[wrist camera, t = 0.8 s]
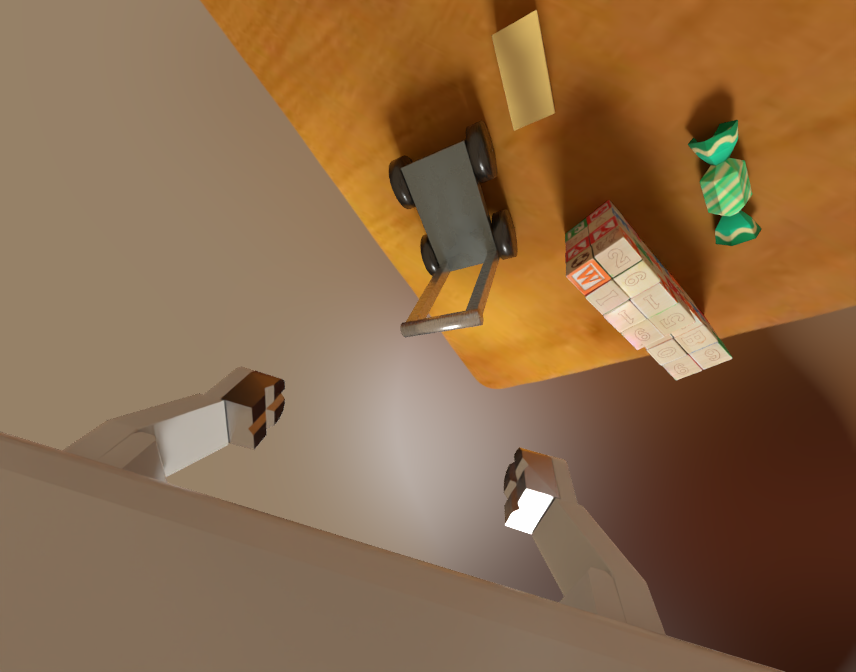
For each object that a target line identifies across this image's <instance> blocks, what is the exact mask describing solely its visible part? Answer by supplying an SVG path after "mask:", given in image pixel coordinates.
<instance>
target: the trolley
mask: <svg viewBox="0 0 856 672" xmlns="http://www.w3.org/2000/svg"><path fill="white" fill-rule="evenodd" d="M496 177H497V164H496V158H495V153H494V148H493V144H492V141H491V138H490V135H489V132H488V129H487V127H486V125H485V123H484V122H483V121H479V122H477V123H475V124H473V125H470V126H468V127H467V128H466V139H465V140H463V141H460V142H458V143H456V144H453V145H451V146H449V147H447V148H444V149H442V150H440V151H437V152H435V153H433V154H431V155H428V156H426V157H424V158H421V159H419V160H417V161H414V162H413V161H412V160H411V159H410V158H409V157H408V156H402V157H400V158H397V159H395V160H393V161H391V163H390V165H389V178H390V183H391V186H392V189H393V191H394V194H395V196H396V198H397V199H398V201H399V202H400V204H401V205H402V206H403V207H404V208H406V209H411V208H414V207H416V208H417V210H418V213H419V215H420V218H421V220H422V223H423V225H424V228H425V230H426V233H427V234H426V235H424V236H423V237H422V239H421V255H422V259H423V262H424V265H425V267H426V269H427V271H428V272H429V273H430V274H431V275H432V276H433V277H432V279H431V281H430V282H429V284H428V286H427V287H426V289H425V291H424V292H423V294H422V296H421V297H420V299H419V301H418V302H417V304H416V306H415V307H414V309H413V311H412V312H411V314H410V316H409V317H408V319H407V321H406V322H404V323H402V324H401V333H402V335H403V336H404V337H411V336H417V335H423V334H430V333H436V332H442V331H448V330H454V329H461V328H467V327H473V326H479V325H483V312H484V308H485V305H486V302H487V298H488V295H489V292H490V288H491V285H492V282H493V278H494V275H495V272H496V268H497V265H498V262H499V258H500V257H501V258H502V259H503V260H504V259H508V258H512V257H516V256H517V240H516V234H515V229H514V225H513V221H512V218H511V215H510V213H509V211H508V210H507V209H505V210H502V211H499V212H496V213H493V215H492V223H491V219H490V216H489V213H488V209H487V206H486V202H485V199H484V196H483V192H482V189H481V185H480V182H482V183H483V182H485V181H488V180H491V179H494V178H496ZM479 181H480V182H479ZM482 263H483V266H482V269H481V271H480V274H479V277H478V279H477V282H476V285H475V287H474V290H473V293H472V295H471V298H470V301H469V303H468V306H467V309H466V311H462V312H457V313H451V314H446V315H440V316H435V317H430V318H426V317H427V315H428V313H429V311H430V309H431V307H432V306H433V304H434V302H435V300H436V298H437V296H438V294H439V292H440V290H441V288H442V287H443V285H444V283H445V281H446V279H447V277H448V275H449V273H450V271H454V270H458V269H462V268H466V267H470V266H474V265H478V264H482Z"/></svg>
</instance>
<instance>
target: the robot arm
mask: <svg viewBox="0 0 856 672" xmlns="http://www.w3.org/2000/svg"><path fill="white" fill-rule="evenodd" d="M284 389H285V381H284V380H283V379H280V378H277V377H274V376H271V375H268V374H264V373H261V372H258V371H254V370H251V369H247V368H245V367H238V368H236V369H235V370H233V371H232V372H231V373H230V374H228V376H226V377H225V378H223V379H222V380H221V381H220V382H219V383H217V384H216V385H215V386H214V387H212V388H211V389H210V390H209V391H207V392H206V393H205V394H204V395H203V394H200V393H199V394H195V395H192V396H188V397H185V398H182V399H178V400H175V401H171V402H168V403H164V404H161V405H158V406H154V407H150V408H147V409H144V410H140V411H137V412H133V413H130V414H126V415H123V416H120V417H116V418H113V419H110V420H107V421H105V422H104V423H102V424H101V425H99V426H98V427H96V428H95V429H94V430H92V431H91V432H89V433H88V434H86V435H85V436H83V437H82V438H80V439H79V440H77V441H76V442H74V443H73V444H71V445H70V446H68V447H67V448H65V449H64V450H59V449H56V448H52V447H49V446H46V445H42V444H39V443H36V442H33V441H30V440H26V439H23V438H19V437H16V436H13V435H10V434H7V433H3V432H0V672H784V671H781V670H777V669H774V668H770V667H767V666H764V665H761V664H757V663H754V662H751V661H748V660H744V659H741V658H738V657H735V656H731V655H728V654H725V653H721V652H718V651H715V650H712V649H708V648H705V647H702V646H699V645H695V644H692V643H688V642H685V641H682V640H679V639H676V638H672V637H669V636H666V635H665V632H664V630H663V627H662V624H661V621H660V619H659V616H658V613H657V611H656V608H655V605H654V603H653V600H652V597H651V594H650V592H649V589H648V586H647V583H646V582H645V580H644V579H643V578H642V577H641V576H640V574H639V573H638V572H637V571H636V570H635V568H634V567H633V566H632V565H631V564H630V562H629V561H628V560H627V559H626V558H625V556H624V555H623V554H622V553H621V552H620V550H619V549H618V548H617V547H616V546H615V544H614V543H613V542H612V541H611V540H610V538H609V537H608V536H607V535H606V534H605V532H604V531H603V530H602V529H601V528H600V527H599V525H598V524H597V523H596V522H595V521H594V519H593V518H592V517H591V515H590V514H589V513H588V512H587V511H586V509H585V508H584V507H583V506H581V505H578V503H577V499H576V495H575V491H574V488H573V484H572V480H571V476H570V473H569V469H568V465H567V462H566V461H565V460H563V459H560V458H556V457H552V456H548V455H544V454H541V453H537V452H534V451H530V450H527V449H523V448H518V449H517V451H516V453H515V454H514V461H515V462H513V463H512V464H509V466H508V469H507V471H506V475H505V478H504V494H505V495H506V497H507V499H508V500H507V501H506V503H505V505H504V507H505V525H507V526H510V527H513V528H516V529H519V530H522V531H525V532H528V533H531V534H532V537H533V539H534V541H535V543H536V545H537V546H538V548H539V550H540V552H541V554H542V556H543V558H544V560H545V562H546V563H547V565H548V567H549V569H550V571H551V573H552V575H553V576H554V578H555V580H556V581H557V584H558V586H559V588H560V590H561V591H562V593H563V595H564V598H563V599H562V600H561V601H560V602H559V603H558V602H555V601H551V600H548V599H545V598H542V597H538V596H535V595H532V594H529V593H525V592H522V591H519V590H516V589H512V588H509V587H506V586H503V585H500V584H496V583H493V582H490V581H486V580H483V579H480V578H477V577H473V576H470V575H467V574H464V573H460V572H457V571H453V570H451V569H447V568H443V567H440V566H437V565H434V564H431V563H428V562H424V561H421V560H418V559H414V558H411V557H408V556H404V555H401V554H398V553H395V552H391V551H388V550H385V549H381V548H378V547H375V546H372V545H368V544H365V543H362V542H359V541H356V540H352V539H349V538H346V537H343V536H339V535H336V534H333V533H330V532H326V531H323V530H319V529H316V528H313V527H310V526H307V525H303V524H300V523H297V522H294V521H291V520H287V519H284V518H280V517H277V516H274V515H271V514H268V513H264V512H261V511H258V510H254V509H251V508H248V507H245V506H242V505H238V504H235V503H231V502H228V501H225V500H221V499H219V498H215V497H212V496H209V495H206V494H202V493H199V492H196V491H192V490H189V489H186V488H183V487H179V486H176V485H173V484H170V483H167V479H166V477H167V476H169V475H171V474H173V473H175V472H177V471H179V470H181V469H183V468H184V467H186V466H188V465H190V464H192V463H194V462H196V461H198V460H200V459H202V458H204V457H206V456H207V455H209V454H211V453H213V452H215V451H217V450H219V449H221V448H223V447H225V446H227V445H228V444H229V443H231V444H234V445H238V446H242V447H245V448H249V449H253V450H254V449H255V448H256V447H257V446H258V445H259V443H260V442H261V441H262V440H263V439H264V437H265V436H266V429H267V428H269V427H271V426H274V425H275V424H276V423H277V421H278V420H279V419H280V416H281V414H282V412H283V410H284V405H285V399H284V397H283V395H282V394H281V393H282V392H283V390H284Z"/></svg>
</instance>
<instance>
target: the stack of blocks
mask: <svg viewBox="0 0 856 672" xmlns="http://www.w3.org/2000/svg"><path fill="white" fill-rule="evenodd" d="M565 243H566V253H565V257H566V259H565V260H566V277H567V278H568V279H569V280H570V281H571V282H572V283H573V284H574V285H575V286H576V287H577V288H578V289H579V291H580V292H581V293H582V294H583V295H585V298H586V299H587V300H588V301H589V302H590V303H591V304H592V305H593V306H594V307H595V308H596V309H597V310H598V311H599V312H600V313H601V314H603V316H604V318H605V319H606V320H607V321H608V322H609V323H610V324H611V325H612V326H613V327H614V328H615V329H616V330H617V331H618V332H620V333H621V334H622V335H623V336H624V337H625V338H626V339H627V340H628V341H629V342H630V343H631V344H632V345H633V346H634V347H635V348H636V349H637V350H639V349H641V348H643V347H645V348H646V350H647V351H648V352H649V354H650V355H651V356H652V357H653V358H654V359H655V360H656V361H657V362H658V363H659V364H660V365H662V366H663V367H664V368H665V369H666V370H667V371H668V372H669V374H670V375H671V376H672V377H673V378H674V379H675V380H678V379H681V378H683V377H686V376H689V375H691V374H694V373H697V372H700V371H702V370H703V369H706V368H709V367H712V366H714V365H717V364H719V363H722V362H725V361H727V360H730V359H732V356H731V355H730V353H729V351H728V350H727V348H726V347H725V345H724V344H723V342H722V341H721V340H720V339H719V337H718V336H717V334H716V333H715V331H714V329H713V328H712V327H711V325H710V324H709V322H708V320H707V319H706V318H705V316H704V315H703V314H702V312H701V311H700V310H699V309H698V308H697V307H696V305H695V304H694V302H693V301H692V299H691V298H690V297H689V296H688V295H687V293H686V292H685V291H684V290H683V289H682V287H681V286H680V285H679V284H678V282H677V281H676V280H675V279H674V278H673V276H672V275H671V274H670V273H669V272H668V270H666V269H665V268H664V267H663V265H662V264H661V263H660V262H659V261H658V259H657V258H656V257H655V256H654V255H653V254H652V252H651V251H650V250H649V249H648V248H647V246H646V245H645V244H644V243H643V242H642V240H641V239H640V238H639V236H638V234H637V233H636V232H635V231H634V230H633V228H632V227H631V226H630V225H629V223H628V222H627V221H626V220H625V219H624V217H623V216H622V214H621V213H620V212H619V211H618V209H617V208H616V207H615V206H614V205H613V203H612V202H611V201H610V200H608V201H607V202H605V203H604V204H603V205H601V206H600V207H599V208H598V209H596V210H595V211H594V212H593V213H591V214H590V215H589V216H587V217H586V218H585V219H584V220H583V221H581V222H580V223H579V224H578V225H576V226H575V227H574V228H572V229H571V230H570V231H568V232H567V233H566V234H565Z"/></svg>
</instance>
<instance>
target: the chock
mask: <svg viewBox="0 0 856 672" xmlns="http://www.w3.org/2000/svg"><path fill="white" fill-rule="evenodd" d="M492 39H493V44H494V48H495V52H496V56H497V61H498V65H499V69H500V73H501V78H502V82H503V86H504V91H505V95H506V99H507V103H508V108H509V112H510V116H511V120H512V125H513V129H514V130H517V129H519V128H521V127H524V126H526V125H528V124H531V123H533V122H535V121H538V120H540V119H543V118H545V117H547V116H550V115H552V114H554V113H555V107H554V101H553V96H552V90H551V84H550V79H549V73H548V67H547V61H546V56H545V50H544V44H543V38H542V33H541V27H540V21H539V16H538V13H537V10H535V11H533V12H532V13H530V14H528V15H526V16H525V17H523V18H521V19H520V20H518V21H516V22H514V23H513V24H511V25H509V26H507V27H506V28H504V29H502V30H500V31H499V32H497V33H495V34H493V35H492Z"/></svg>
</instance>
